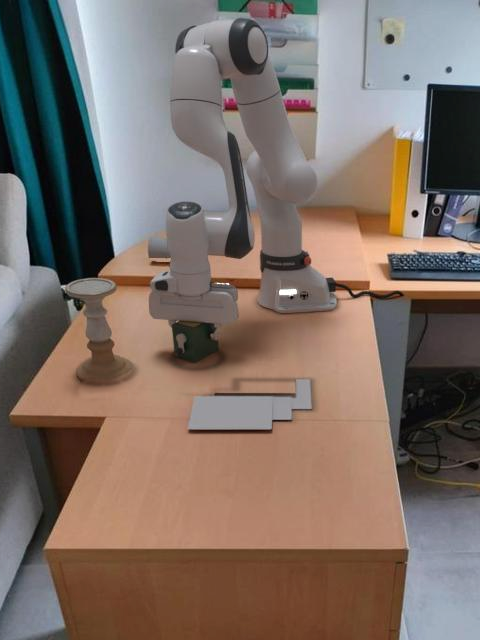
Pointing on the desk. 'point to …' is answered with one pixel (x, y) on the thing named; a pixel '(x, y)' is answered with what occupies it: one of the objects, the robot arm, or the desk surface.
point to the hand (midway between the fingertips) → (196, 338)
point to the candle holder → (97, 330)
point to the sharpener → (193, 340)
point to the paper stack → (248, 408)
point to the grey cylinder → (158, 248)
